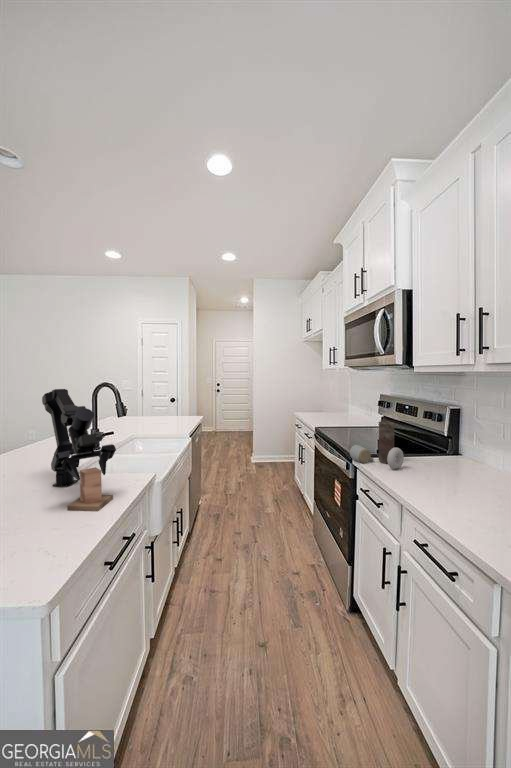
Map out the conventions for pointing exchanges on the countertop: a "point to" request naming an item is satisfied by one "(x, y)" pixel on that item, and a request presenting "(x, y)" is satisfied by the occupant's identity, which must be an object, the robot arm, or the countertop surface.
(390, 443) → the candle
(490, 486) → the countertop surface
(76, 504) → the base board
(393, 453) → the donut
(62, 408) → the robot arm
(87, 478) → the pillar
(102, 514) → the countertop surface
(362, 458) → the grey cylinder
